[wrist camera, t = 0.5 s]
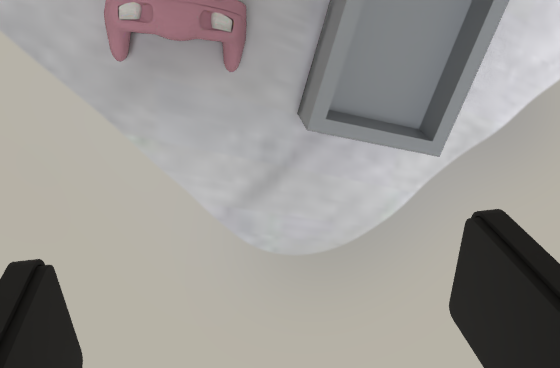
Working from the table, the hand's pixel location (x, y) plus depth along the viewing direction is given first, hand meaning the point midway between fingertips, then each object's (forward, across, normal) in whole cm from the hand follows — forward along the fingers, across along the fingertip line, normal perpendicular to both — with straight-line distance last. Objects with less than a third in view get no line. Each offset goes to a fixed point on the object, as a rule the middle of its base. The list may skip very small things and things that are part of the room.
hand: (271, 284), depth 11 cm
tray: (+30, -14, +1) cm, 33 cm away
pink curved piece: (+30, +3, -1) cm, 30 cm away
